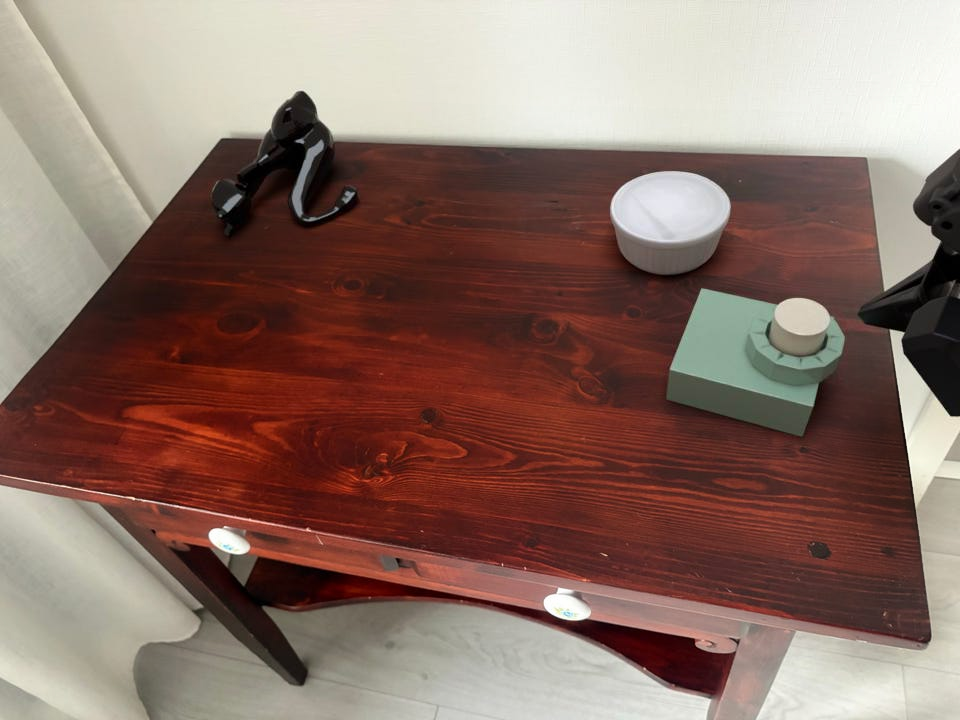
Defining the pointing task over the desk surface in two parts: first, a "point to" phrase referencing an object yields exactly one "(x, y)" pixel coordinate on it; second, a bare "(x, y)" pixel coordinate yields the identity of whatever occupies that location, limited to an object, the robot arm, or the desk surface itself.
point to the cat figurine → (285, 166)
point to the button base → (747, 365)
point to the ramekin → (669, 221)
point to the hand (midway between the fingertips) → (862, 315)
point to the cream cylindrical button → (799, 327)
